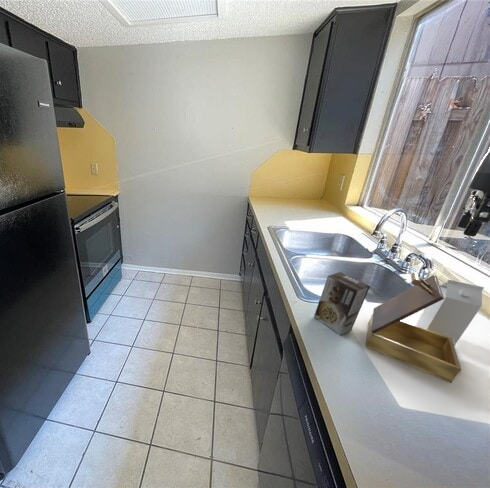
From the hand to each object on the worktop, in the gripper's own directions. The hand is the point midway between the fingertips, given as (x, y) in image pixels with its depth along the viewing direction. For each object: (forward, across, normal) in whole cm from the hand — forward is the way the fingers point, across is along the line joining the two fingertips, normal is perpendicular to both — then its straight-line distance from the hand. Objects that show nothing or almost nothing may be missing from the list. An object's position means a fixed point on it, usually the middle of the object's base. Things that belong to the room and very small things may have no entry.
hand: (465, 231), depth 72 cm
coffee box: (+32, -20, +21) cm, 43 cm away
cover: (+19, -18, +7) cm, 27 cm away
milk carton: (+32, -4, -4) cm, 33 cm away
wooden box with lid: (+32, -18, +3) cm, 37 cm away
